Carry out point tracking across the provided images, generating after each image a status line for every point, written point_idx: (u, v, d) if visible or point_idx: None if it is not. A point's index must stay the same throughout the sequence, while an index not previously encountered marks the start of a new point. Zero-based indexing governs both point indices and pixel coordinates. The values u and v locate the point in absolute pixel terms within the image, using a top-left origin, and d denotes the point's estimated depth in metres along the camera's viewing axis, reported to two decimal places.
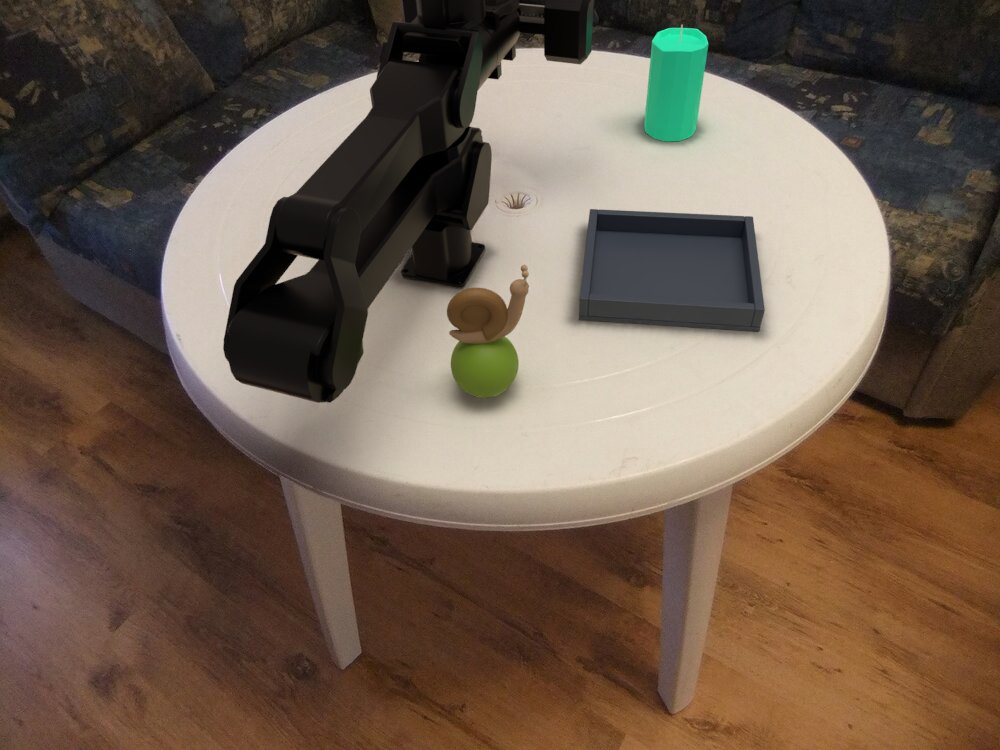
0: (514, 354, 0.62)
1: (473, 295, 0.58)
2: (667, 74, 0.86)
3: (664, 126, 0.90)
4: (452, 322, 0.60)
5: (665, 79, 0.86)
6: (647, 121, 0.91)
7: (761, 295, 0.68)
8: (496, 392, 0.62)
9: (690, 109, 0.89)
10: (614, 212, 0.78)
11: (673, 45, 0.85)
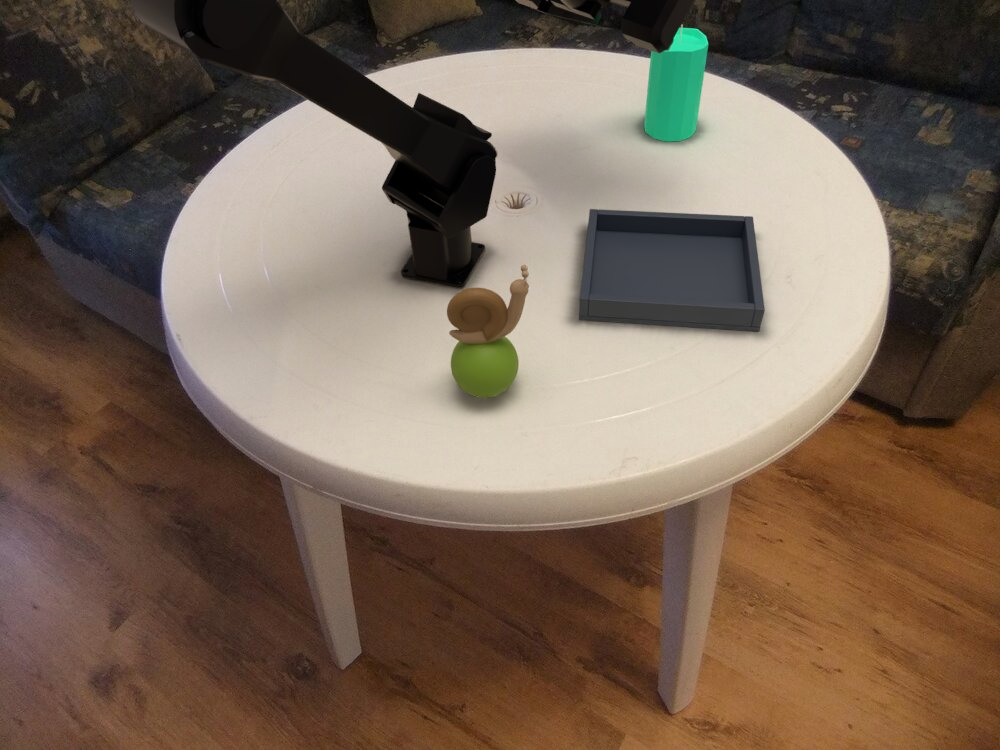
0: (514, 354, 0.62)
1: (473, 295, 0.58)
2: (667, 74, 0.86)
3: (664, 126, 0.90)
4: (452, 322, 0.60)
5: (665, 79, 0.86)
6: (647, 121, 0.91)
7: (761, 295, 0.68)
8: (496, 392, 0.62)
9: (690, 109, 0.89)
10: (614, 212, 0.78)
11: (673, 45, 0.85)
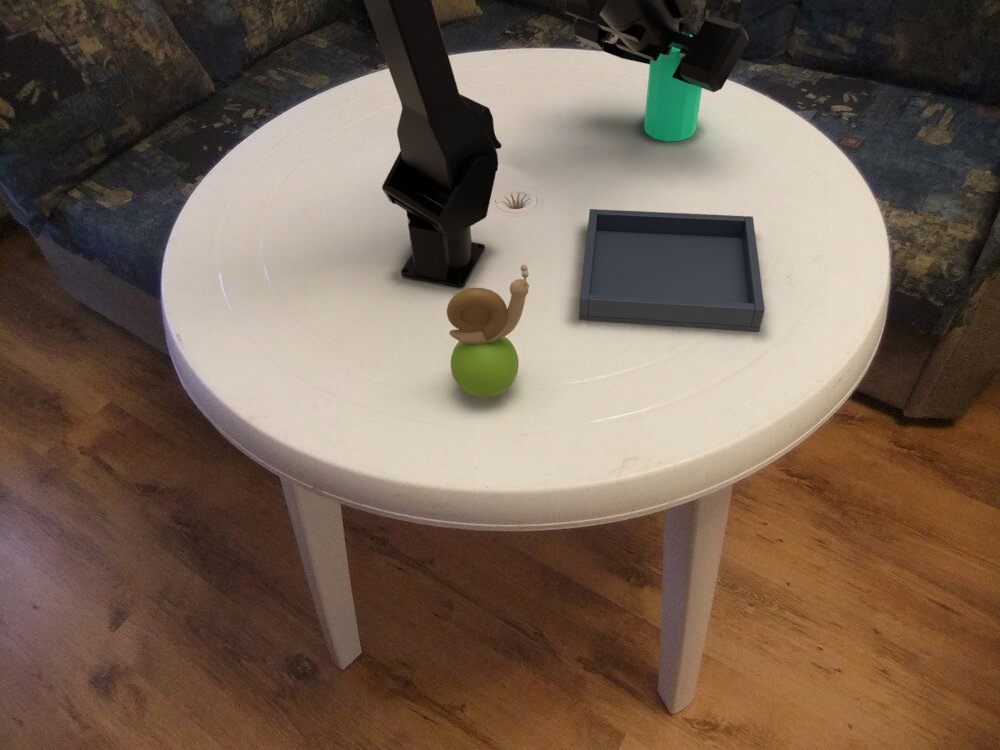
0: (514, 354, 0.62)
1: (473, 295, 0.58)
2: (667, 74, 0.86)
3: (664, 126, 0.90)
4: (452, 322, 0.60)
5: (665, 79, 0.86)
6: (647, 121, 0.91)
7: (761, 295, 0.68)
8: (496, 392, 0.62)
9: (690, 109, 0.89)
10: (614, 212, 0.78)
11: None
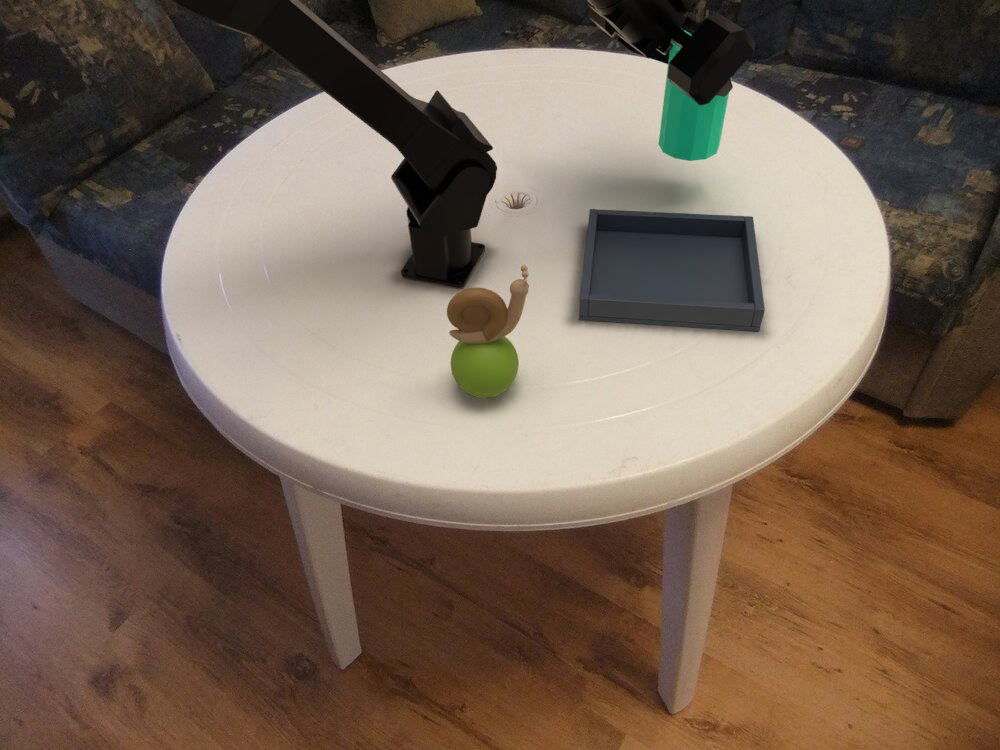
0: (514, 354, 0.62)
1: (473, 295, 0.58)
2: None
3: (673, 140, 0.77)
4: (452, 322, 0.60)
5: None
6: (660, 131, 0.79)
7: (761, 295, 0.68)
8: (496, 392, 0.62)
9: (705, 125, 0.75)
10: (614, 212, 0.78)
11: None
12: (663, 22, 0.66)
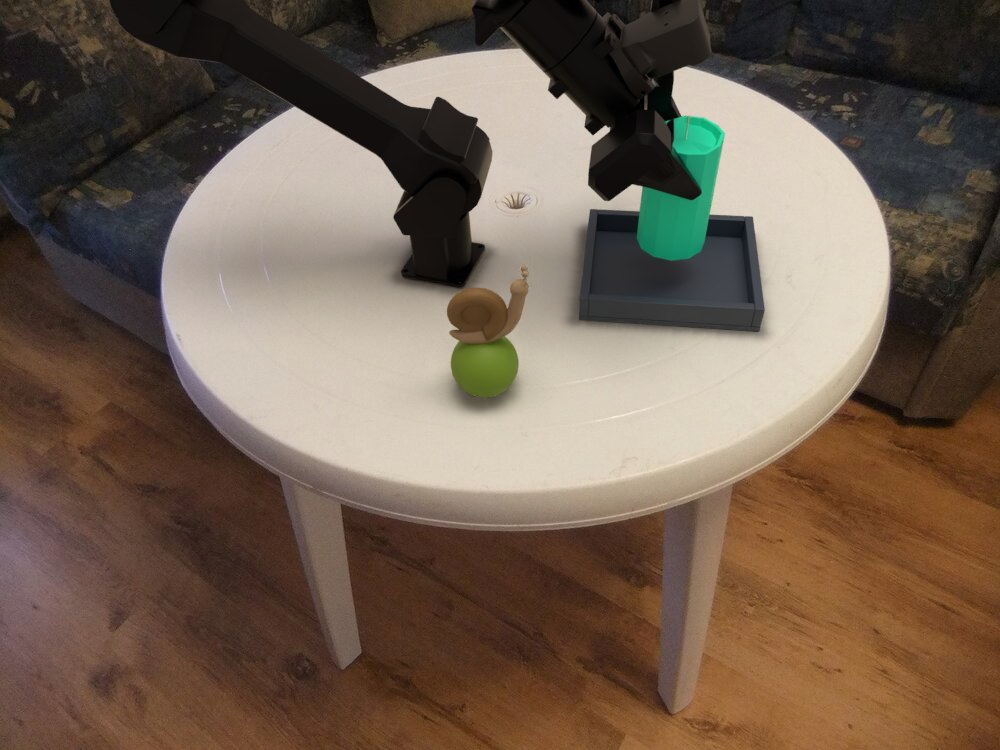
0: (514, 354, 0.62)
1: (473, 295, 0.58)
2: None
3: (641, 229, 0.70)
4: (452, 322, 0.60)
5: None
6: None
7: (761, 295, 0.68)
8: (496, 392, 0.62)
9: (668, 224, 0.67)
10: (614, 212, 0.78)
11: (675, 137, 0.64)
12: (605, 102, 0.60)
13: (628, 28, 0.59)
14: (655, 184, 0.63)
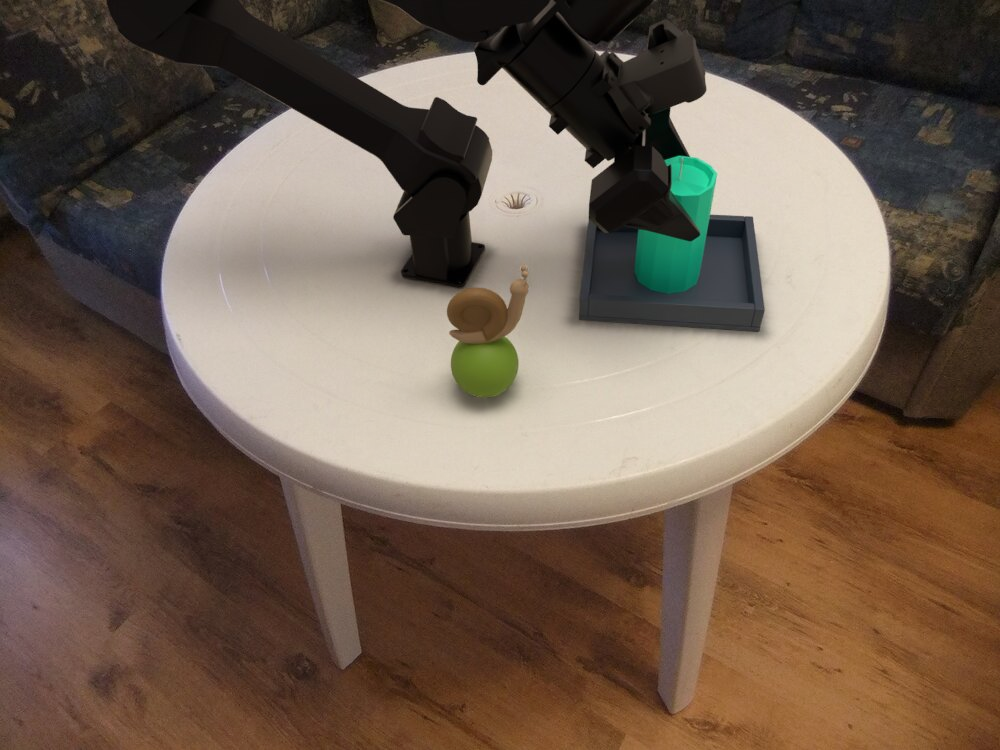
0: (514, 354, 0.62)
1: (473, 295, 0.58)
2: None
3: (638, 263, 0.72)
4: (452, 322, 0.60)
5: None
6: None
7: (761, 295, 0.68)
8: (496, 392, 0.62)
9: (665, 260, 0.69)
10: None
11: None
12: (604, 137, 0.62)
13: (626, 66, 0.62)
14: (654, 227, 0.64)
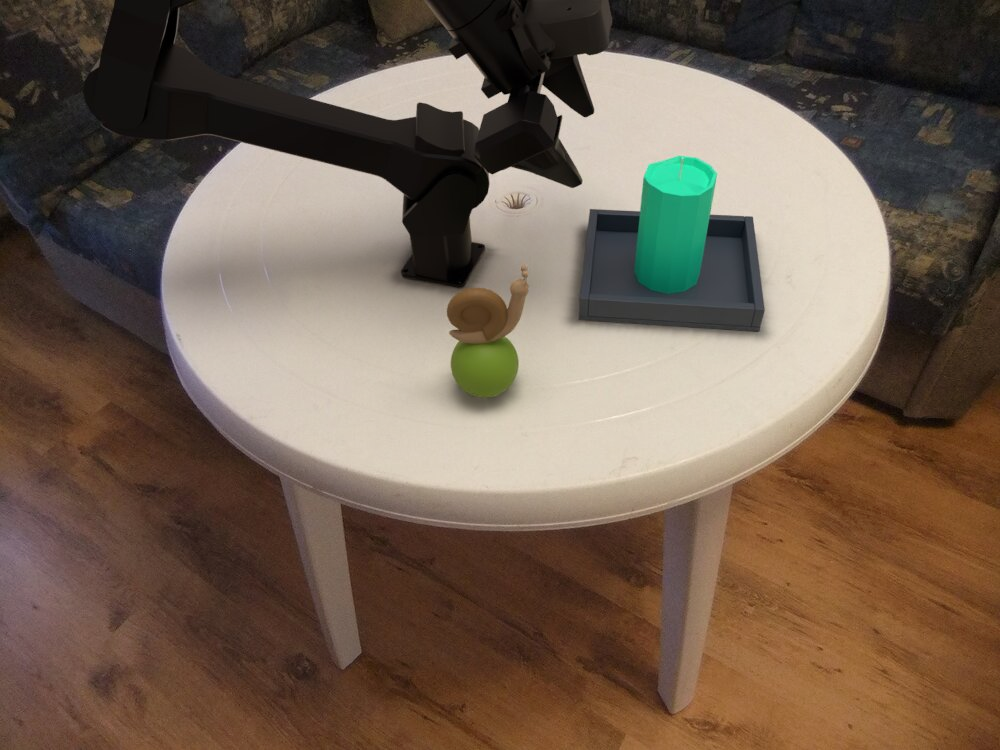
0: (514, 354, 0.62)
1: (473, 295, 0.58)
2: (643, 205, 0.68)
3: (638, 263, 0.72)
4: (452, 322, 0.60)
5: (642, 210, 0.69)
6: None
7: (761, 295, 0.68)
8: (496, 392, 0.62)
9: (665, 260, 0.69)
10: (614, 212, 0.78)
11: (669, 177, 0.67)
12: (502, 72, 0.61)
13: (535, 0, 0.60)
14: (538, 170, 0.65)
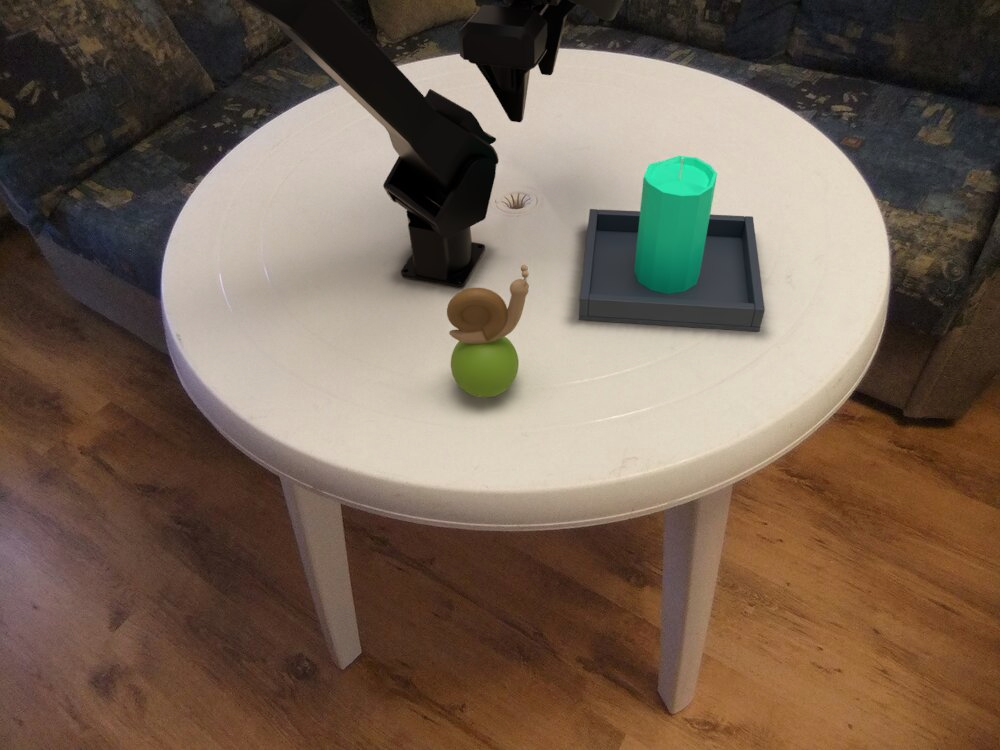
0: (514, 354, 0.62)
1: (473, 295, 0.58)
2: (643, 205, 0.68)
3: (638, 263, 0.72)
4: (452, 322, 0.60)
5: (642, 210, 0.69)
6: None
7: (761, 295, 0.68)
8: (496, 392, 0.62)
9: (665, 260, 0.69)
10: (614, 212, 0.78)
11: (669, 177, 0.67)
12: None
13: None
14: (495, 86, 0.67)
